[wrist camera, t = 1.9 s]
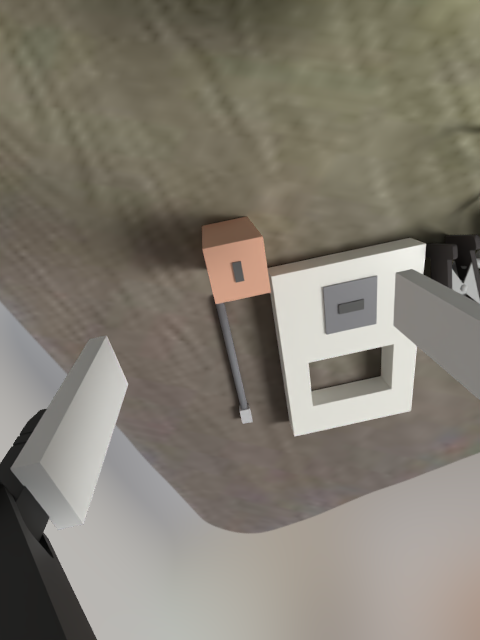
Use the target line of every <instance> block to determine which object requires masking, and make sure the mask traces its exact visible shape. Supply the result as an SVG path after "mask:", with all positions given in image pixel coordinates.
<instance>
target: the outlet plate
mask: <svg viewBox="0 0 480 640" xmlns="http://www.w3.org/2000/svg"><path fill="white" fill-rule="evenodd" d="M425 252H426V243H423V242H420V241H418V240H415V239H413V238H407V239H402V240H397V241H392V242H388V243H383V244H378V245H374V246H369V247H364V248H360V249H355V250H350V251H345V252H341V253H336V254H331V255H327V256H322V257H317V258H313V259H308V260H303V261H298V262H294V263H289V264H284V265H280V266H275V267H270V268H267V269H268V275H269V282H270V289H271V293H270V296H271V302H272V309H273V316H274V322H275V329H276V336H277V342H278V349H279V356H280V362H281V369H282V376H283V382H284V389H285V396H286V402H287V409H288V416H289V422H290V425H291V428H292V431H293V434H294V437H295V436H299V435H304V434H308V433H313V432H317V431H322V430H326V429H331V428H335V427H340V426H344V425H349V424H353V423H358V422H362V421H367V420H371V419H376V418H381V417H385V416H390V415H394V414H399V413H403V412H408V411H411V405H412V394H413V383H414V372H415V361H416V350H417V346H416V345H415V344H414V343H413V342H412V341H411V340H409V339H408V338H407V337H406V336H405V335H404V334H402V333H401V332H400V331H399V330H398V329H397V328H395V327H394V326H393V320H394V298H395V275H396V272H400V271H405V270H410V269H413V270H415V271H417V272H419V273H421V274H424V263H425ZM378 347H382V354H381V376H379V377H374V378H370V379H365V380H360V381H356V382H351V383H347V384H342V385H338V386H333V387H329V388H324V389H319V390H315V391H311V383H310V373H309V363H310V362H314V361H319V360H323V359H328V358H332V357H337V356H342V355H346V354H351V353H355V352H360V351H365V350H369V349H374V348H378Z"/></svg>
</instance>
